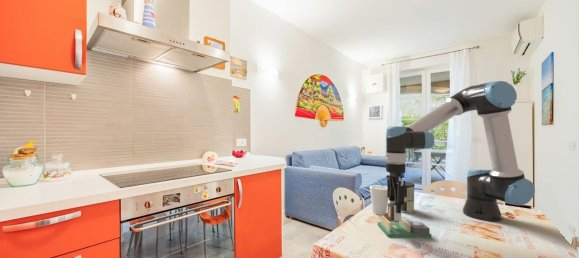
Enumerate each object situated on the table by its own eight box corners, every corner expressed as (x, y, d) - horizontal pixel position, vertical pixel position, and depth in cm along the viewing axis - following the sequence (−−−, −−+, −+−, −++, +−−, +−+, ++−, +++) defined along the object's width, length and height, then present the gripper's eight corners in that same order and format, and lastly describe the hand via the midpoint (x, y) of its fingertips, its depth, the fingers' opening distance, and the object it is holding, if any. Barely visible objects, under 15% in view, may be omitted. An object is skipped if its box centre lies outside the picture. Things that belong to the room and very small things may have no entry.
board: (416, 225, 109) (416, 215, 109) (431, 237, 97) (431, 225, 97) (377, 225, 109) (377, 214, 109) (387, 236, 97) (388, 224, 97)
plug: (396, 217, 106) (397, 203, 106) (400, 221, 102) (401, 206, 102) (387, 217, 106) (387, 203, 106) (391, 220, 102) (391, 206, 102)
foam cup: (389, 211, 128) (390, 186, 128) (388, 217, 119) (389, 190, 120) (370, 208, 132) (370, 184, 132) (368, 214, 123) (368, 188, 124)
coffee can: (396, 212, 127) (396, 184, 127) (391, 206, 137) (391, 180, 137) (417, 213, 126) (417, 185, 126) (410, 207, 136) (410, 181, 136)
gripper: (379, 160, 112) (379, 211, 112) (395, 165, 95) (394, 226, 95) (396, 160, 112) (395, 211, 112) (414, 165, 95) (414, 226, 95)
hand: (395, 218), depth 104 cm, fingers closed on plug, 4 cm apart
